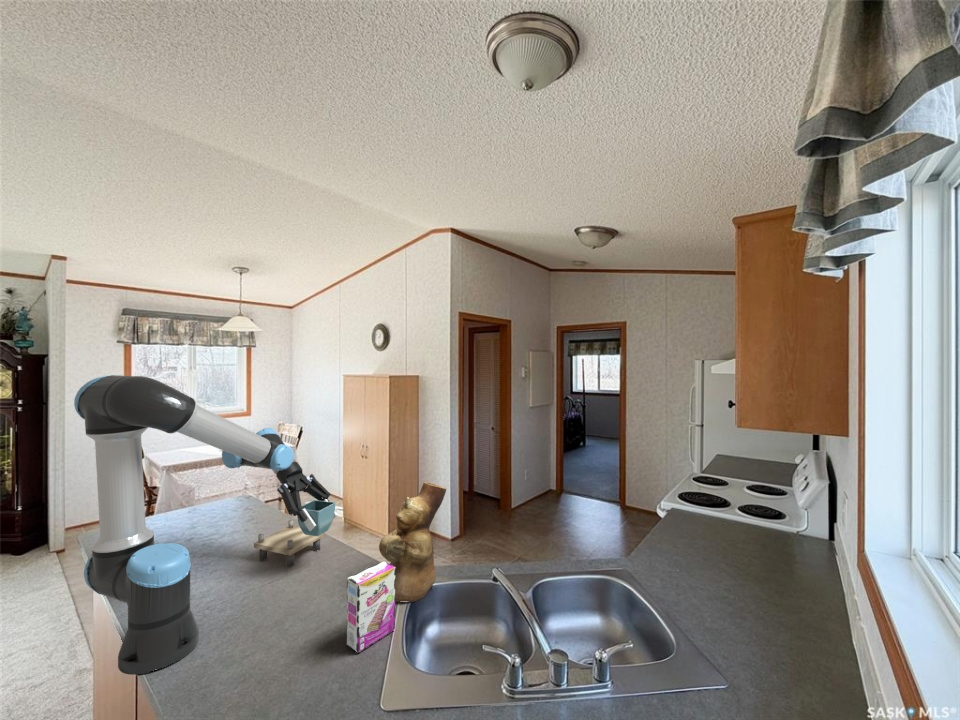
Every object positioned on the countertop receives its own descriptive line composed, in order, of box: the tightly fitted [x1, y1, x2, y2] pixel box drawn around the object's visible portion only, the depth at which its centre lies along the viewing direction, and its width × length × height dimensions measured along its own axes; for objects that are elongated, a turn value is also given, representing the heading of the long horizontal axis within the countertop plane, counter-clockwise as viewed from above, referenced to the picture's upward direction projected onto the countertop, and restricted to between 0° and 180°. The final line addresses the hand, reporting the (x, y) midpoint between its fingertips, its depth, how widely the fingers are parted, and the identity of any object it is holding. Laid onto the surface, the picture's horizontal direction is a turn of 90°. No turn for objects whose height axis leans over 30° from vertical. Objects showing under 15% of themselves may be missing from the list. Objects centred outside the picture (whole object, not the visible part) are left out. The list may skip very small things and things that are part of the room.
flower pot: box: [296, 499, 337, 536], centre depth 134 cm, size 9×9×9 cm
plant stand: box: [253, 519, 326, 568], centre depth 146 cm, size 16×16×8 cm
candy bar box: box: [346, 561, 396, 653], centre depth 102 cm, size 11×5×16 cm, turn 141°
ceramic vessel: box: [378, 481, 447, 604], centre depth 126 cm, size 16×22×30 cm
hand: (324, 522), depth 133 cm, fingers closed on flower pot, 9 cm apart
